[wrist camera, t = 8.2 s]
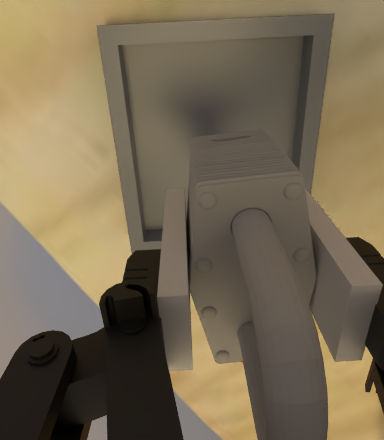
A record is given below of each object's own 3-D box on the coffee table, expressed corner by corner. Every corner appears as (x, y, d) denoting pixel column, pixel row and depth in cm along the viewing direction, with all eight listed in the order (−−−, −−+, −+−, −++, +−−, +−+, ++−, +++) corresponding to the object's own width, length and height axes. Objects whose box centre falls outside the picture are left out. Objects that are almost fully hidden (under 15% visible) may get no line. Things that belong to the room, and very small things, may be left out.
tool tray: (318, 15, 21) (334, 13, 19) (294, 228, 28) (304, 244, 26) (105, 26, 21) (96, 25, 19) (135, 236, 28) (131, 253, 26)
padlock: (277, 272, 17) (384, 540, 8) (194, 280, 17) (210, 554, 8) (279, 125, 13) (472, 309, 4) (175, 137, 13) (165, 340, 5)
